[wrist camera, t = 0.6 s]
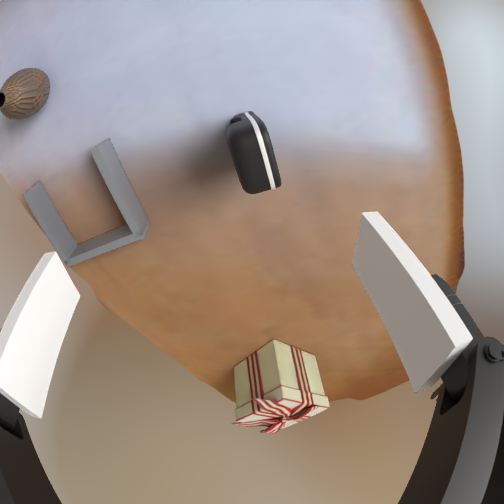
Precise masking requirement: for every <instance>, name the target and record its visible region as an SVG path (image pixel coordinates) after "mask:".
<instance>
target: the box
mask: <svg viewBox="0 0 504 504" xmlns="http://www.w3.org/2000/svg"><path fill="white" fill-rule="evenodd" d="M90 151H91V154H92V156H93V158H94V160H95V162H96V164H97V166H98V168H99V171H100V173H101V175H102V177H103V179H104V181H105V183H106V185H107V187H108V189H109V191H110V193H111V194H112V196H113V198H114V200H115V202H116V204H117V206H118V208H119V210H120V211H121V213H122V215H123V217H124V219H125V221H126V222H127V224H126V225H123V226H121V227H118V228H116V229H113V230H111V231H108V232H106V233H104V234H101V235H99V236H96V237H94V238H92V239H89V240H87V241H85V242H83V243H80V244H78V245H77V243H76V241H75V240H74V238H73V237H72V235H71V234H70V232H69V230H68V229H67V227H66V225H65V224H64V222H63V220H62V219H61V217H60V215H59V214H58V212H57V210H56V208H55V207H54V205H53V203H52V201H51V199H50V198H49V196H48V194H47V192H46V190H45V188H44V186H43V184H42V182H41V181H38V182H37V183H36V184H34V185H33V186H32V187H31V188H30V189H28V190H27V191H26V192H25V193H24V194H23V197H24V199H25V201H26V202H27V204H28V206H29V208H30V210H31V211H32V213H33V215H34V217H35V218H36V220H37V222H38V223H39V225H40V227H41V228H42V230H43V231H44V233H45V235H46V236H47V238H48V239H49V241H50V242H51V244H52V245H53V247H54V248H55V250H56V251H57V253H58V254H59V256H60V257H61V259H62V260H63V261H64V263H65V264H66V266H67V267H70V266H72V265H75V264H77V263H80V262H82V261H85V260H87V259H90V258H93V257H95V256H98V255H100V254H103V253H106V252H108V251H111V250H114V249H116V248H119V247H122V246H124V245H127V244H130V243H133V242H135V241H138V240H141V239H144V238H145V235H146V233H147V230H148V228H149V225H150V222H149V220H148V218H147V216H146V214H145V212H144V210H143V208H142V206H141V204H140V202H139V200H138V198H137V196H136V194H135V192H134V190H133V188H132V186H131V184H130V182H129V180H128V178H127V176H126V174H125V171H124V169H123V167H122V165H121V163H120V161H119V159H118V156H117V154H116V152H115V150H114V147H113V145H112V143H111V141H110V138H109V139H107V140H105V141H103V142H102V143H100V144H99V145H97V146H96V147H94V148H93V149H91V150H90Z"/></svg>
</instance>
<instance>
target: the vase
mask: <svg viewBox="0 0 504 504" xmlns="http://www.w3.org/2000/svg"><path fill="white" fill-rule="evenodd" d="M49 90H50V82H49V79H48V76H47V75H46V74H45V73H44V72H43V71H41V70H40V69H36V68H26V69H22V70H20V71H18V72H16V73H14V74H13V75H12V76H10V77H9V78H8V79H7V80H6V82H5V83H4V85H3V86H2V88H1V90H0V111H1V112H2V113H3V114H4V115H5V116H6V117H8V118H10V119H23V118H26V117H29V116H31V115H32V114H34V113H35V112H37V111H38V110H39V109H40V108H41V107H42V106H43V104H44V103H45V101H46V100H47V97H48V95H49Z"/></svg>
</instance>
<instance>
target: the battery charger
mask: <svg viewBox="0 0 504 504" xmlns="http://www.w3.org/2000/svg"><path fill="white" fill-rule="evenodd" d="M225 135H226V140H227V144H228V147H229V150H230V153H231V156H232V159H233V162H234V165H235V168H236V171H237V174H238V177H239V180H240V183H241V185H242V188H243V189H244V190H245V191H246V192H247V193H249V194H256V193H260V192H263V191H267V190H270V189H271V190H274V189H275V188H277V187H280V186H281V179H280V174H279V170H278V166H277V162H276V159H275V155H274V151H273V147H272V144H271V140H270V137H269V133H268V131H267V128H266V126H265V124H264V123H263V121H262V120H261V119H260V118H259V117H258V116H256V115H255V114H254V113H253V112H252V111H249V112H244V113H242V114H239V115H237V116H235V117H234V118H233V119H232V120H231V122H230V125H229V126H228V127H227V129H226V134H225Z"/></svg>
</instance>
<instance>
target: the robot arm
mask: <svg viewBox="0 0 504 504" xmlns="http://www.w3.org/2000/svg"><path fill="white" fill-rule="evenodd" d="M352 266H353V268H354V270H355V271H356V273H357V275H358V277H359V279H360V280H361V282H362V284H363V286H364V288H365V289H366V291H367V293H368V295H369V297H370V299H371V301H372V302H373V304H374V306H375V308H376V310H377V312H378V314H379V316H380V318H381V320H382V322H383V324H384V326H385V328H386V330H387V332H388V334H389V336H390V338H391V340H392V342H393V344H394V346H395V348H396V350H397V352H398V355H399V357H400V359H401V361H402V363H403V366H404V368H405V370H406V372H407V374H408V377H409V379H410V381H411V384H412V386H413V388H414V391H415V393H417V392H419V391H422V390H424V389H426V388H428V387H431V386H432V385H434V384H435V382H437V380H438V379H439V378H440V377H441V379H442V380H443V384H442V385H441V386H440V387H439V388H438V389H437V390H436V391H435V392H434V393H433V394H432V396H431V399H433V398H435V397H436V396H437V395H438V394H439V395H438V398H437V400H436V401H437V403H436V407H435V411H434V414H433V418H432V421H431V424H430V428H429V431H428V434H427V437H426V440H425V443H424V446H423V448H422V451H421V454H420V456H419V459H418V461H417V464H416V466H415V469H414V471H413V473H412V476H411V478H410V480H409V482H408V484H407V487H406V489H405V491H404V493H403V495H402V497H401V499H400V501H399V503H398V504H504V345H502V344H501V343H500V342H499V341H498V340H496V339H495V338H493V337H484V336H483V334H482V333H481V332H480V330H479V329H478V327H477V325H476V324H475V322H474V321H473V319H472V318H471V316H470V315H469V313H468V312H467V310H466V309H465V307H464V306H463V304H461V303H460V300H459V299H458V297H457V296H456V295H454V292H453V290H452V289H451V287H450V286H449V285H448V283H447V282H445V281H444V280H443V279H442V278H440V277H439V276H438V275H436V274H434V275H430V274H429V273H428V271H427V270H426V269H425V267H424V266H423V265H422V264H421V262H420V261H419V260H418V258H417V257H416V256H415V255H414V253H413V252H412V251H411V250H410V249H409V247H408V246H407V245H406V244H405V243H404V241H403V240H402V239H401V238H400V237H399V235H398V234H397V233H396V232H395V231H394V230H393V228H392V227H391V226H390V225H389V224H388V223H387V222H386V221H385V219H384V218H383V217H382V216H381V215H380V214H379V213H378V212H364V213H361V219H360V225H359V231H358V237H357V242H356V247H355V253H354V258H353V263H352ZM79 298H80V294H79V293H78V291H77V289H76V287H75V286H74V284H73V282H72V280H71V279H70V277H69V275H68V273H67V271H66V270H65V268H64V266H63V264H62V262H61V260H60V258H59V256H58V254H57V252H56V251H54V252H49V253H45V254H44V255H43V257H42V258H41V259H40V261H39V263H38V264H37V266H36V267H35V269H34V270H33V272H32V274H31V275H30V277H29V279H28V280H27V282H26V284H25V285H24V287H23V289H22V291H21V292H20V294H19V296H18V298H17V300H16V301H15V303H14V305H13V307H12V309H11V311H10V313H9V315H8V317H7V319H6V321H5V323H4V325H3V327H2V328H1V330H0V504H62V503H61V501H60V500H59V498H58V496H57V494H56V493H55V491H54V489H53V487H52V485H51V483H50V481H49V479H48V477H47V475H46V473H45V471H44V469H43V467H42V465H41V463H40V460H39V458H38V455H37V453H36V451H35V448H34V446H33V443H32V440H31V438H30V435H29V432H28V429H27V427H26V423H25V420H24V418H23V416H22V415H21V414H20V413H19V409H21V410H23V411H24V412H26V413H27V414H29V415H31V416H34V417H37V418H42V414H43V409H44V405H45V401H46V397H47V393H48V389H49V385H50V381H51V377H52V374H53V371H54V367H55V364H56V360H57V357H58V354H59V351H60V348H61V345H62V342H63V339H64V336H65V334H66V331H67V328H68V325H69V322H70V320H71V318H72V315H73V312H74V310H75V307H76V305H77V303H78V300H79Z"/></svg>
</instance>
